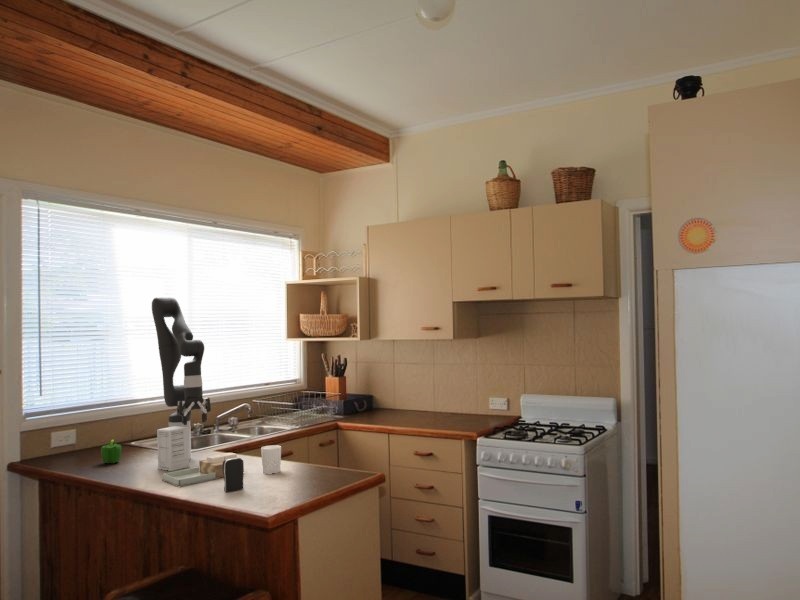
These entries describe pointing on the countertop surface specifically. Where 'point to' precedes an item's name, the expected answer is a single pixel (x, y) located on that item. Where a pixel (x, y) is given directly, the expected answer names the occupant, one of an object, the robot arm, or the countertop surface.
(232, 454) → the tile back
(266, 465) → the white cup
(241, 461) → the battery charger
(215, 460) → the tile front
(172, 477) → the tray
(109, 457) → the bell pepper
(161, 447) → the supplement box
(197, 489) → the countertop surface
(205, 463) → the tan flat block
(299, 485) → the countertop surface
